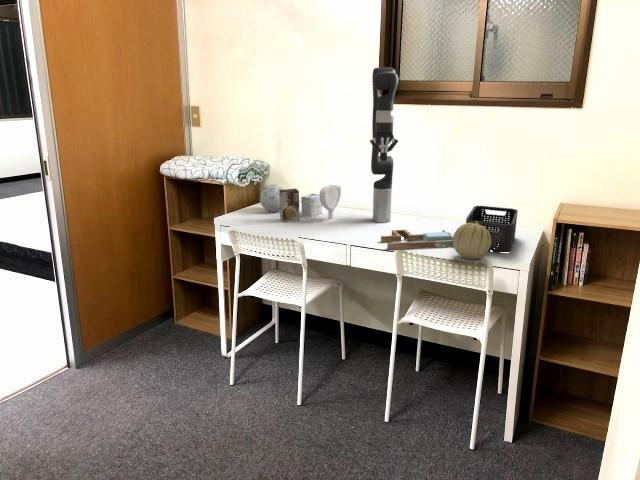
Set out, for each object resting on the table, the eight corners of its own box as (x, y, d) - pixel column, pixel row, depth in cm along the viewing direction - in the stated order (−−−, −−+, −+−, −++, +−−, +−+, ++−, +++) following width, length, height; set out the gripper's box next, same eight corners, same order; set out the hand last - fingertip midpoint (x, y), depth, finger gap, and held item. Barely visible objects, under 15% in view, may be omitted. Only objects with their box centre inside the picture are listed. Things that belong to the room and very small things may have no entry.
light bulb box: (312, 212, 280) (312, 192, 277) (322, 213, 277) (322, 194, 273) (301, 215, 272) (300, 196, 269) (311, 217, 268) (310, 197, 265)
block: (423, 242, 226) (423, 232, 225) (444, 241, 227) (445, 232, 226) (427, 246, 221) (427, 236, 219) (449, 245, 222) (450, 235, 220)
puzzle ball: (289, 213, 277) (289, 186, 272) (262, 215, 273) (261, 188, 269) (284, 207, 291) (283, 181, 286) (258, 209, 287) (257, 183, 282)
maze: (376, 236, 235) (376, 227, 234) (438, 233, 239) (439, 224, 238) (388, 249, 216) (388, 240, 214) (456, 246, 220) (456, 237, 219)
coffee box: (296, 218, 267) (296, 188, 262) (299, 221, 261) (299, 190, 257) (279, 219, 265) (278, 189, 260) (282, 222, 259) (282, 191, 254)
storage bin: (509, 255, 209) (513, 224, 205) (462, 249, 216) (464, 219, 212) (515, 237, 234) (518, 208, 230) (472, 232, 241) (474, 204, 237)
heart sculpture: (326, 224, 256) (326, 189, 250) (318, 222, 258) (318, 188, 253) (342, 217, 268) (342, 184, 263) (334, 216, 271) (334, 183, 265)
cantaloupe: (448, 261, 202) (451, 224, 197) (454, 250, 215) (457, 216, 210) (487, 266, 196) (490, 228, 192) (491, 254, 209) (494, 219, 205)
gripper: (396, 120, 224) (395, 159, 229) (367, 120, 222) (366, 160, 227) (401, 121, 216) (400, 162, 222) (371, 122, 215) (370, 162, 220)
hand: (383, 161), depth 224 cm, fingers closed
